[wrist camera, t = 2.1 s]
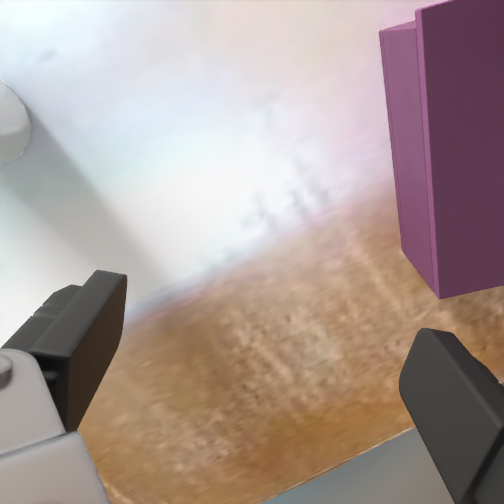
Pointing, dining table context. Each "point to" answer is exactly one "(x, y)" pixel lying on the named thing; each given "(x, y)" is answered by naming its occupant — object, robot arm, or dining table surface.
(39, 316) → the robot arm
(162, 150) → the dining table surface
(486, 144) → the purple box lid
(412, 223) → the purple open box
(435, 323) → the dining table surface
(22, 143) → the silver metal tumbler
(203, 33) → the dining table surface
